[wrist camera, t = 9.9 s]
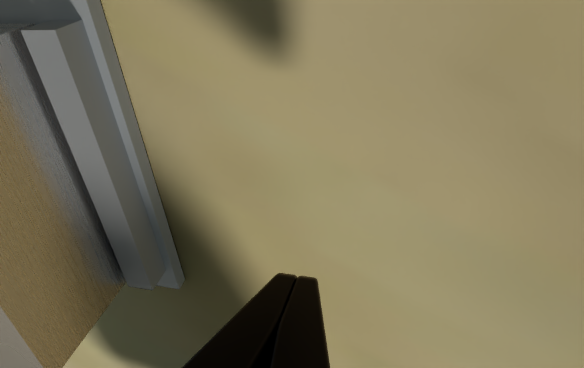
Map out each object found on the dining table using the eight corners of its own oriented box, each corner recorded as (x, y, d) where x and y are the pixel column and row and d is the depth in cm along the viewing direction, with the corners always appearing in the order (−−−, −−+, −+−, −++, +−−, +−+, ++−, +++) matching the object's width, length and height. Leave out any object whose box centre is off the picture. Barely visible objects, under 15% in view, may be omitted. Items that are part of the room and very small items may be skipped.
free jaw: (133, 271, 16) (52, 380, 12) (77, 263, 16) (-16, 365, 13) (34, 22, 11) (-155, 87, 7) (-42, 23, 11) (-251, 84, 8)
